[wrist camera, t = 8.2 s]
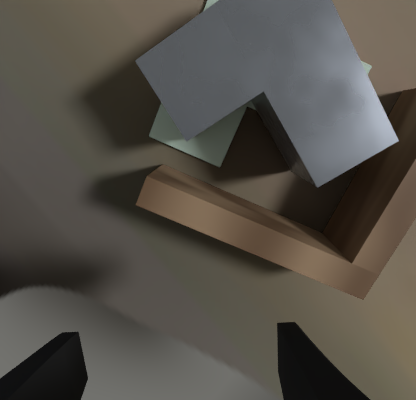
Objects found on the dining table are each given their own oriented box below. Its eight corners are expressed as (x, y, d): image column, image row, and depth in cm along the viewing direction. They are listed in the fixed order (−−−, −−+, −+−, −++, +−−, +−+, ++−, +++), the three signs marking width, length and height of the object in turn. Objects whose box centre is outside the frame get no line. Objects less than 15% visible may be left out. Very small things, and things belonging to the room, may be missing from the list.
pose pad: (370, 66, 17) (371, 66, 17) (298, 201, 19) (299, 202, 19) (205, -13, 17) (205, -15, 16) (149, 136, 19) (148, 136, 18)
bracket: (349, 136, 18) (398, 141, 13) (236, 204, 19) (242, 230, 14) (277, -6, 16) (302, -61, 12) (157, 78, 18) (135, 60, 13)
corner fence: (153, 186, 19) (135, 204, 15) (225, 5, 17) (228, -37, 12) (331, 262, 20) (363, 300, 16) (426, 102, 18) (494, 94, 13)
